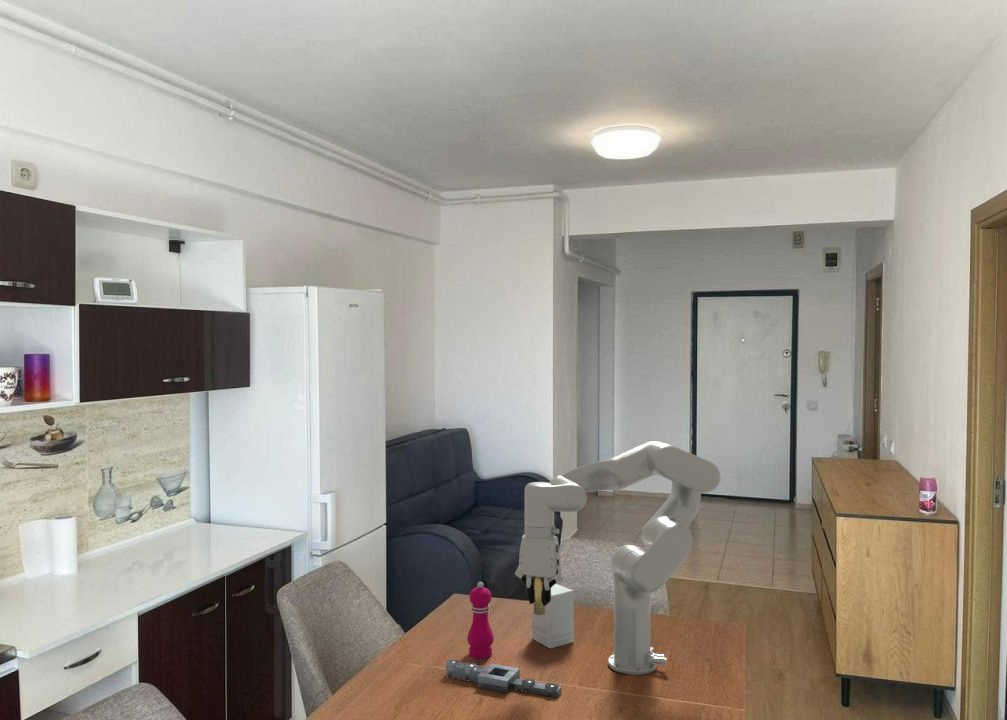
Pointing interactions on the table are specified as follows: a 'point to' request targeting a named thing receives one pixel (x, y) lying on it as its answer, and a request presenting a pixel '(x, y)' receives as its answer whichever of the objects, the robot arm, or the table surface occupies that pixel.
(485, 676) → the chain ends
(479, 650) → the pepper mill
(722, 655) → the table surface
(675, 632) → the table surface
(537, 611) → the brass pin
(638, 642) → the robot arm
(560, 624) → the supplement box
